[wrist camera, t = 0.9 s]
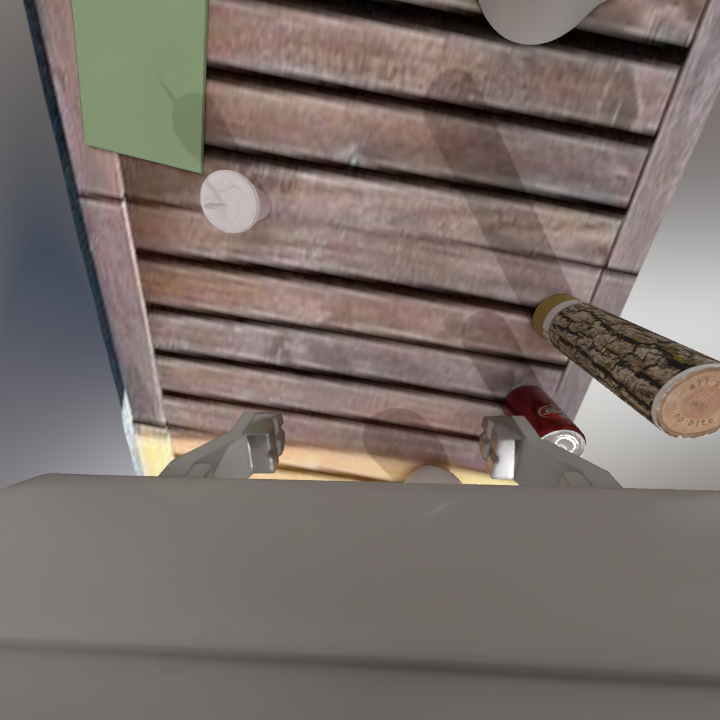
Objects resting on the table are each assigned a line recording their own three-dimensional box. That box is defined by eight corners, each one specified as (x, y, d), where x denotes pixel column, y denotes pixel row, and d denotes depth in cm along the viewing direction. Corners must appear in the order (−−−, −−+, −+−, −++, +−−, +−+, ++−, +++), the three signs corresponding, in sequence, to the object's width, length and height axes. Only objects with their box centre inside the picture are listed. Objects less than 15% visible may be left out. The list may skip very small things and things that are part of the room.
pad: (70, -70, 36) (63, -76, 35) (209, -31, 36) (206, -36, 36) (89, 145, 44) (84, 144, 43) (203, 174, 45) (200, 173, 44)
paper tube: (547, 285, 48) (699, 353, 25) (588, 303, 49) (773, 384, 26) (521, 327, 51) (637, 423, 28) (560, 343, 51) (705, 449, 28)
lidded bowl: (444, 442, 60) (457, 489, 50) (474, 489, 64) (492, 542, 54) (383, 469, 63) (384, 518, 53) (415, 512, 67) (421, 566, 57)
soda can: (528, 375, 54) (566, 417, 43) (556, 402, 55) (600, 449, 44) (492, 404, 56) (519, 451, 45) (520, 429, 58) (553, 480, 47)
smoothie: (225, 206, 46) (165, 204, 33) (251, 166, 44) (198, 147, 31) (263, 239, 47) (220, 249, 35) (290, 202, 45) (255, 198, 33)
